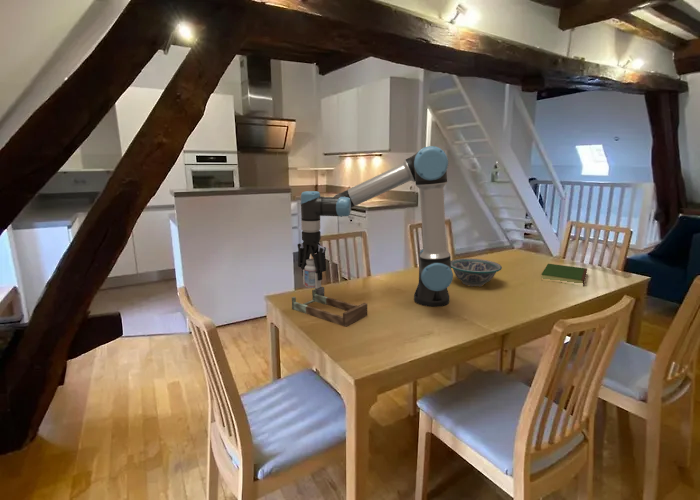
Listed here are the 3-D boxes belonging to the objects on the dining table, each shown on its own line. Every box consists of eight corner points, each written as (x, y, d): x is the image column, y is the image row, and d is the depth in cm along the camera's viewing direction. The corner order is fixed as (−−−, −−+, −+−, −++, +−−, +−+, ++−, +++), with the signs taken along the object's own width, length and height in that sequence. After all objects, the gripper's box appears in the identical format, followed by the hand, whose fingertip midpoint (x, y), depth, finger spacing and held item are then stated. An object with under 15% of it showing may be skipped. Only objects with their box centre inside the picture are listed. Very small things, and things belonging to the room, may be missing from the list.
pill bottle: (305, 284, 166) (304, 258, 163) (319, 283, 166) (319, 257, 164) (304, 288, 160) (303, 262, 157) (320, 288, 160) (319, 261, 158)
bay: (374, 311, 160) (374, 294, 158) (346, 326, 146) (345, 307, 144) (319, 296, 178) (319, 280, 176) (289, 308, 164) (289, 291, 162)
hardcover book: (583, 287, 191) (584, 280, 190) (540, 281, 201) (541, 274, 200) (586, 275, 211) (587, 268, 210) (547, 269, 221) (548, 263, 220)
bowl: (443, 287, 189) (444, 268, 187) (451, 274, 212) (452, 256, 210) (499, 294, 180) (501, 274, 178) (501, 279, 203) (502, 261, 200)
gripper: (335, 231, 155) (335, 288, 160) (300, 226, 166) (302, 279, 172) (322, 234, 149) (323, 293, 154) (287, 229, 161) (289, 283, 166)
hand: (312, 285), depth 163 cm, fingers closed on pill bottle, 6 cm apart
